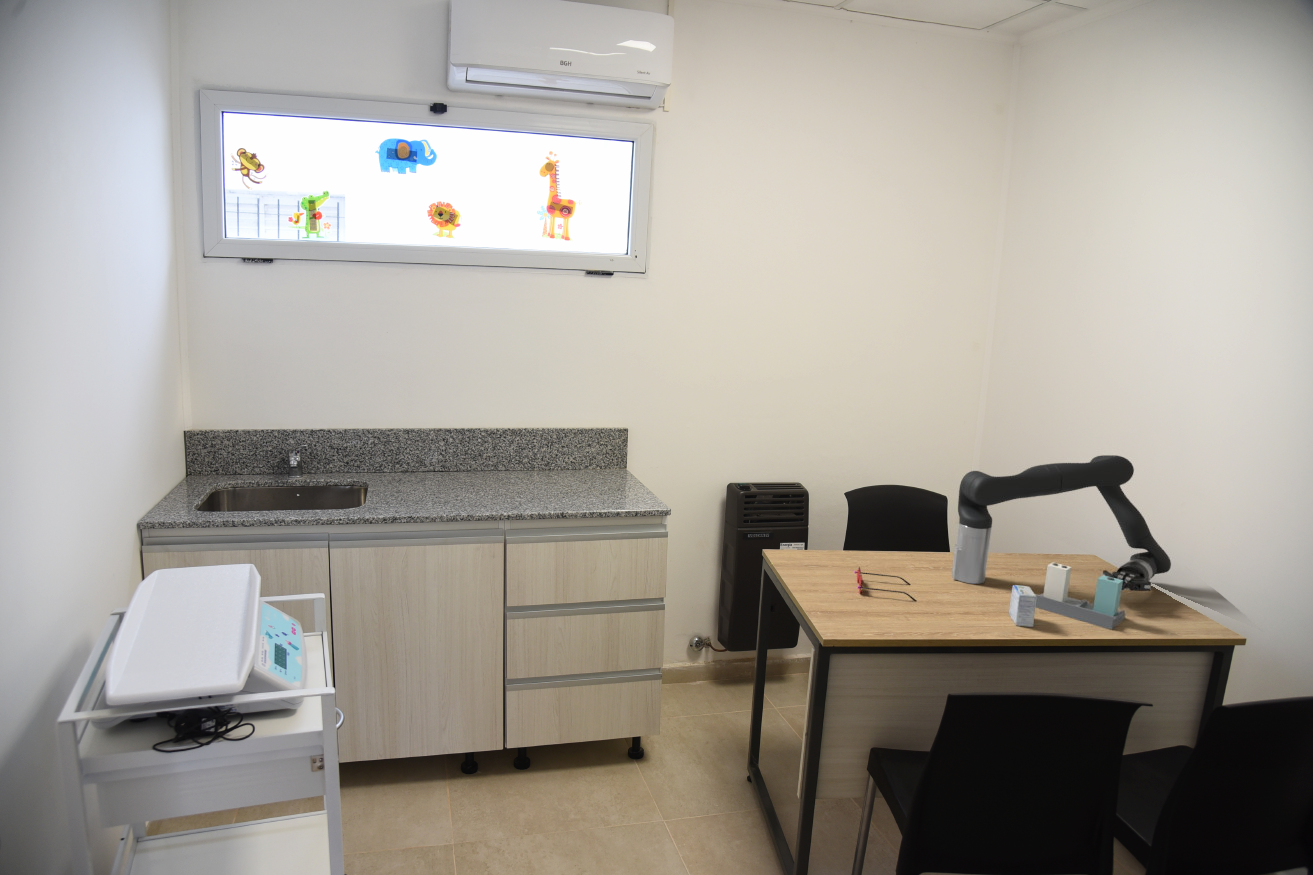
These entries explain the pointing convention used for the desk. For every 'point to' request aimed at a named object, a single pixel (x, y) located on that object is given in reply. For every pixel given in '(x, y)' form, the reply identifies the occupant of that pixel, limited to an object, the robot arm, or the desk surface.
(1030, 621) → the medicine box
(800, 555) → the desk surface
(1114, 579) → the teal block
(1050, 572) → the white battery block
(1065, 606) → the gray divided tray
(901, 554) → the desk surface
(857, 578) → the glasses
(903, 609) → the desk surface
